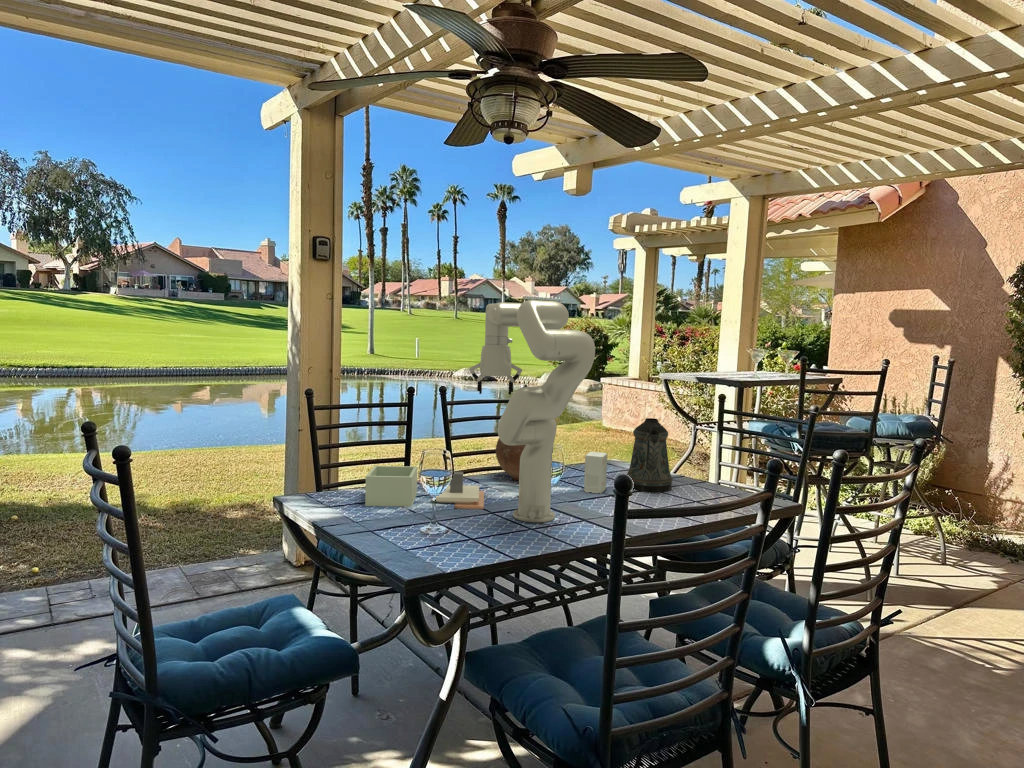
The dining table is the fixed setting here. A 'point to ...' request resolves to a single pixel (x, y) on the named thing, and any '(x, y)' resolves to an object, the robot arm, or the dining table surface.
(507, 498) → the dining table surface
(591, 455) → the small box
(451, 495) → the lid
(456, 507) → the tile
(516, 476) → the jug
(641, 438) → the beer stein
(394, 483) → the storage tub
